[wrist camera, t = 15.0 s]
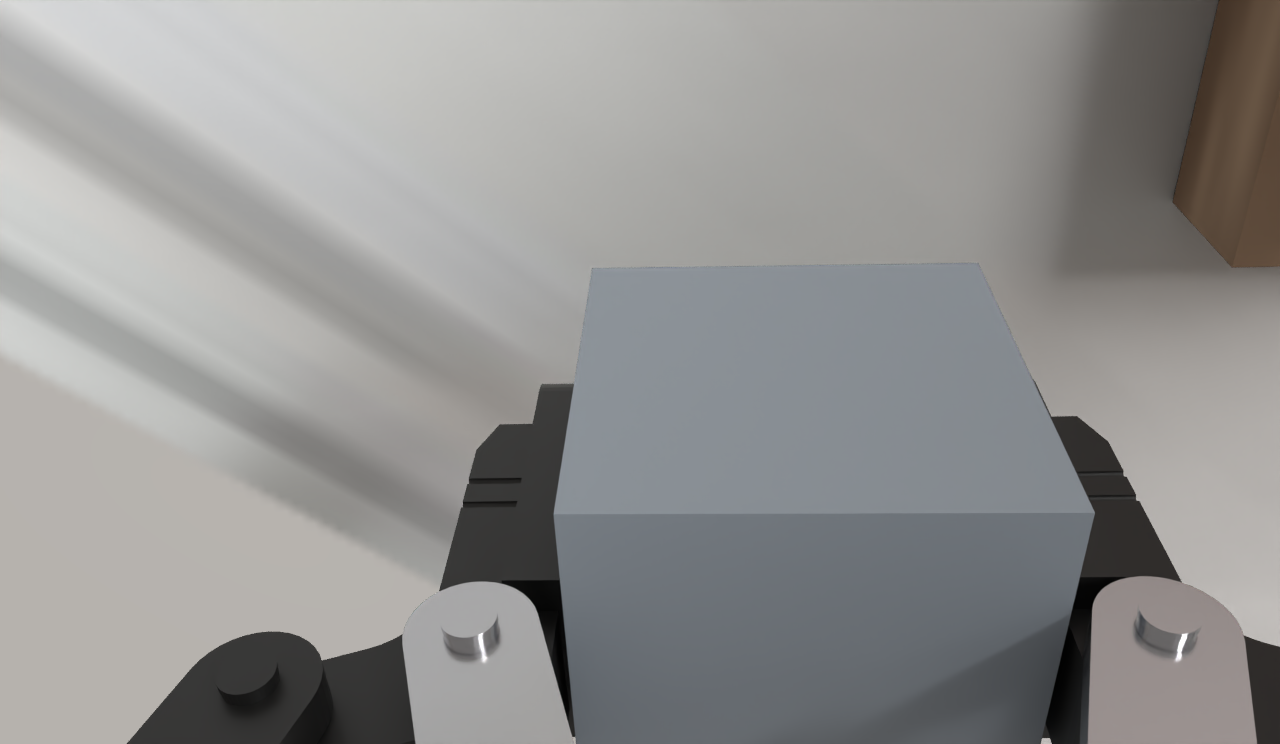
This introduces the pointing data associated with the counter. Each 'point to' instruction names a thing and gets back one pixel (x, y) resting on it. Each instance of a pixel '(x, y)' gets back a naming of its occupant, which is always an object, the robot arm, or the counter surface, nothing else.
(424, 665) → the robot arm
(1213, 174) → the walnut plinth
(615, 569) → the slate block
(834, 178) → the counter surface
